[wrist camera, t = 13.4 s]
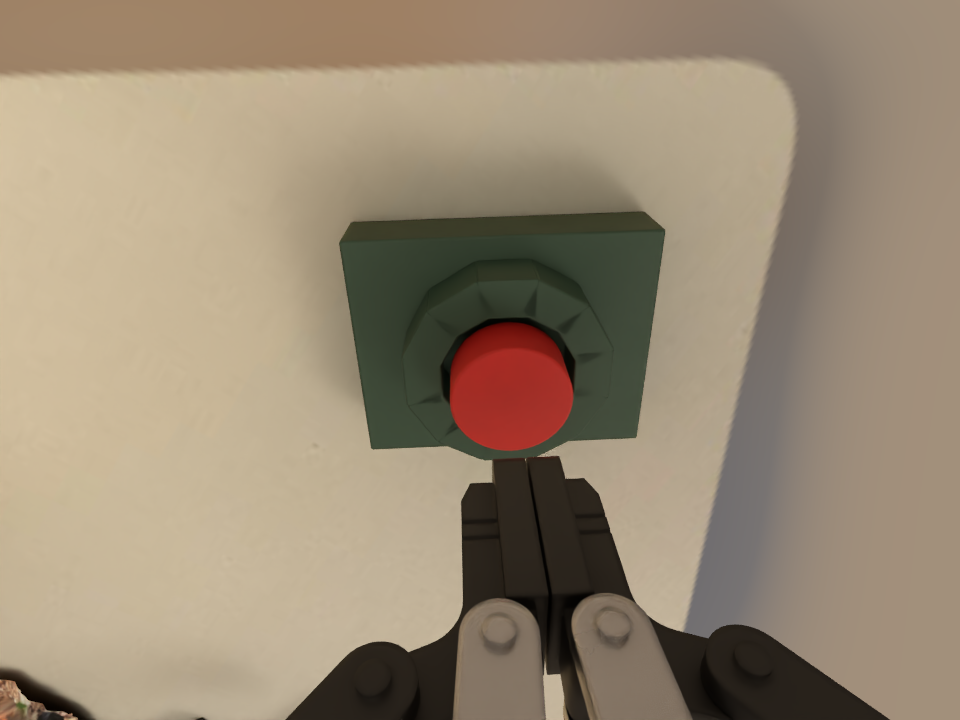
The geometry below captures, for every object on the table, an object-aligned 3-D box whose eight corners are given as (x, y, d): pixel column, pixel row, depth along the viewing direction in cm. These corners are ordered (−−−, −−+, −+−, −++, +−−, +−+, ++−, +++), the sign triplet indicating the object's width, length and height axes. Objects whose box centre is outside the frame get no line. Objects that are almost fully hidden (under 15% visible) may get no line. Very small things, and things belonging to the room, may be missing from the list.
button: (566, 318, 17) (577, 345, 15) (561, 416, 18) (570, 449, 17) (447, 323, 17) (446, 350, 15) (453, 420, 18) (453, 454, 17)
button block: (645, 210, 19) (688, 247, 15) (621, 405, 23) (651, 470, 19) (350, 221, 19) (325, 261, 15) (378, 416, 23) (363, 483, 19)
